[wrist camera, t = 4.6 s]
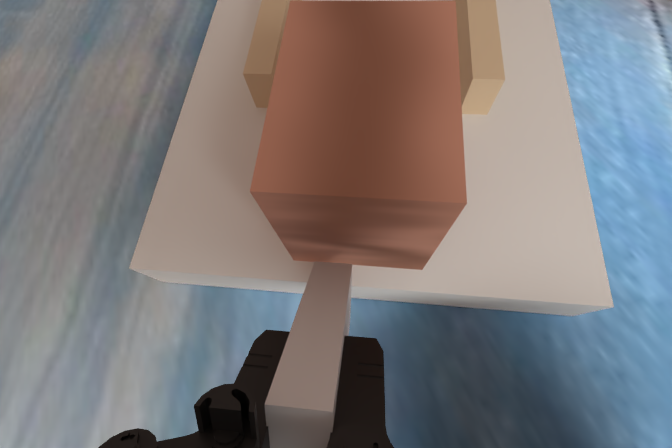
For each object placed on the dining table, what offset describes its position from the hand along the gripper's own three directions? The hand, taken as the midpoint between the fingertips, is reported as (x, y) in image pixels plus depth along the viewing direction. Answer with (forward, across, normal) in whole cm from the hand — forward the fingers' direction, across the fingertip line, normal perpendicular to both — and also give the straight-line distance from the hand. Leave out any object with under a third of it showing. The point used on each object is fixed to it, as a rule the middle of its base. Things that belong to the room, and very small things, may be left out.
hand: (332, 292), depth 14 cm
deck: (+19, +1, +13) cm, 23 cm away
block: (+5, +1, +3) cm, 6 cm away
